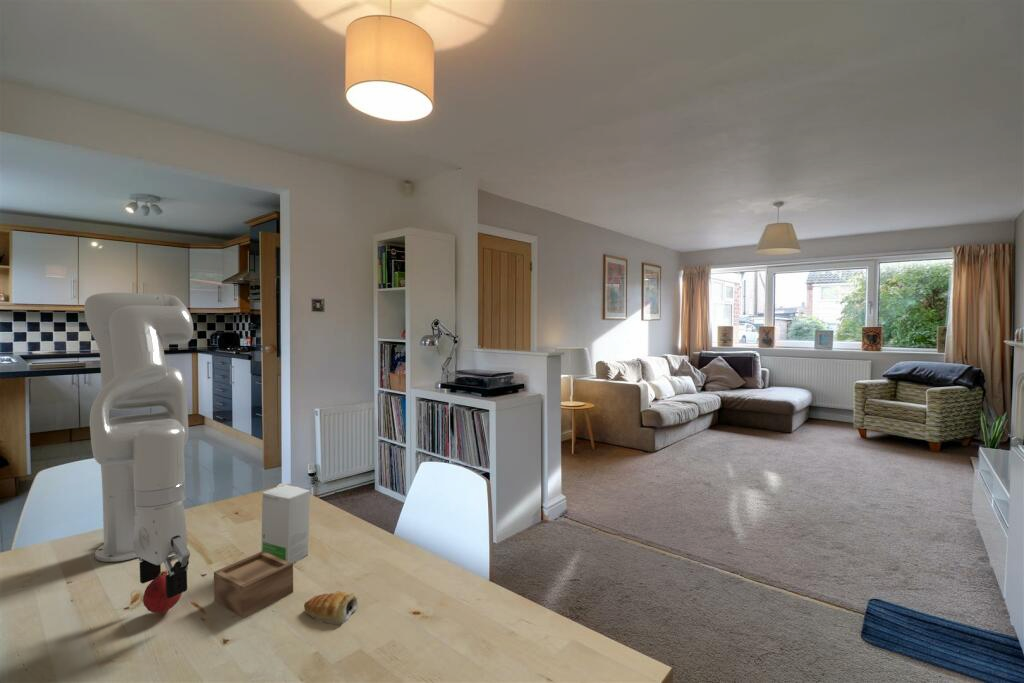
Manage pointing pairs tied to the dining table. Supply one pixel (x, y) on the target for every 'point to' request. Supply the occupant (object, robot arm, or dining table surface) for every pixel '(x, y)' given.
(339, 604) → the pastry
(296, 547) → the skincare box
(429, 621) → the dining table surface
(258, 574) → the wooden crate
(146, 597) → the onion
